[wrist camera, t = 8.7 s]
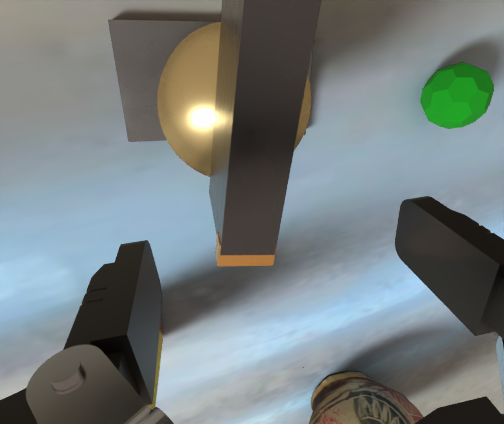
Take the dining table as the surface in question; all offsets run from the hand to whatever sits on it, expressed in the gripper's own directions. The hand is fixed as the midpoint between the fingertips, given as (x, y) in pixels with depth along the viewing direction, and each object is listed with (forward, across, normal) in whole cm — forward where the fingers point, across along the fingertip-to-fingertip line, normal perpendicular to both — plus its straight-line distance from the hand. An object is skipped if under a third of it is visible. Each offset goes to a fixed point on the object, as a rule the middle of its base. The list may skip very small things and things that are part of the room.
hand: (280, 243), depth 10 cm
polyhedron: (+19, -19, 0) cm, 27 cm away
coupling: (+11, 0, -2) cm, 11 cm away
